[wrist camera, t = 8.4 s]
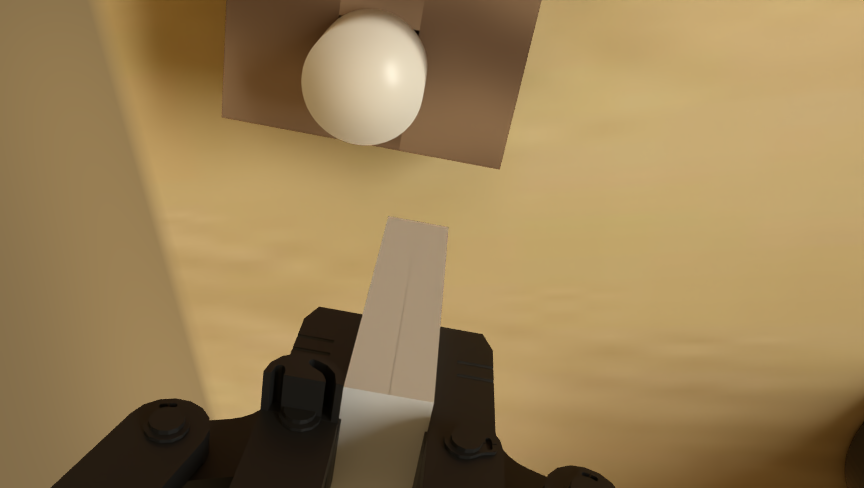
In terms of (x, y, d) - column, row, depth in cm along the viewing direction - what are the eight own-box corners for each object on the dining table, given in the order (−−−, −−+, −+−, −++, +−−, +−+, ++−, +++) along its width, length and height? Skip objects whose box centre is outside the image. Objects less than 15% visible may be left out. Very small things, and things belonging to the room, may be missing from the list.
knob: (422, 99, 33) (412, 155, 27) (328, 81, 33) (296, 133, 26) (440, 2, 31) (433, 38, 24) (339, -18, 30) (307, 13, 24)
